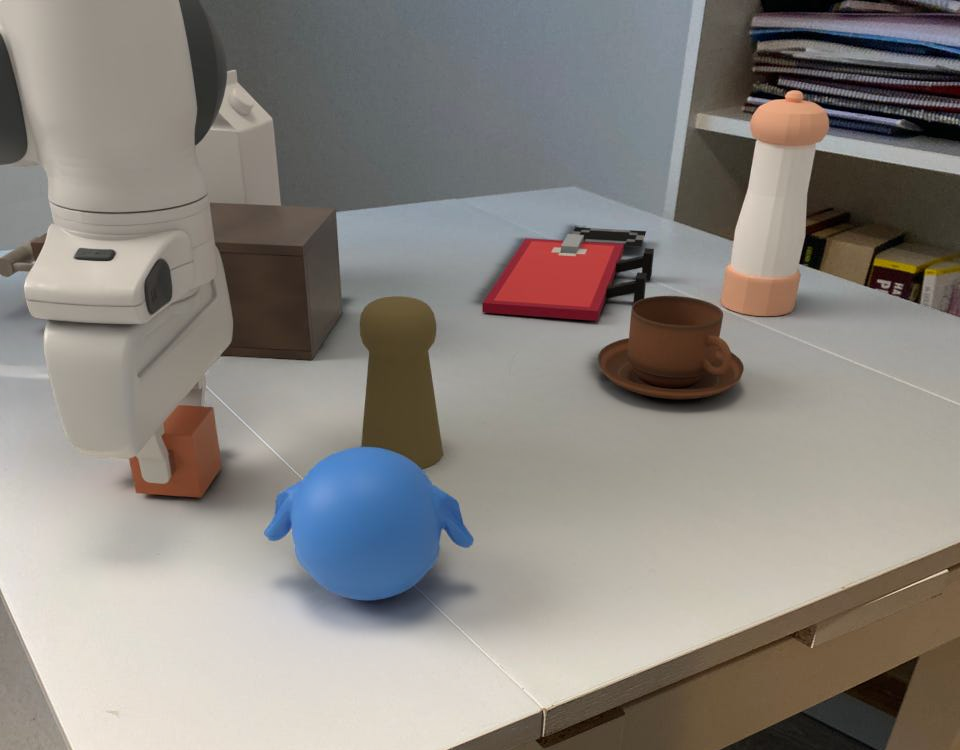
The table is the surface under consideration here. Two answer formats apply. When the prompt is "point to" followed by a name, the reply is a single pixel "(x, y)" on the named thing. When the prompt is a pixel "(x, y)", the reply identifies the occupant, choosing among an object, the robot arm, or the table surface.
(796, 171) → the pepper shaker
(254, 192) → the milk carton
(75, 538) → the table surface
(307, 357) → the cabinet
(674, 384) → the cup and saucer
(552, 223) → the table surface
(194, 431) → the block
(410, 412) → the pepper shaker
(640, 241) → the red board with handle
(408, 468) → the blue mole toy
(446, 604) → the table surface
